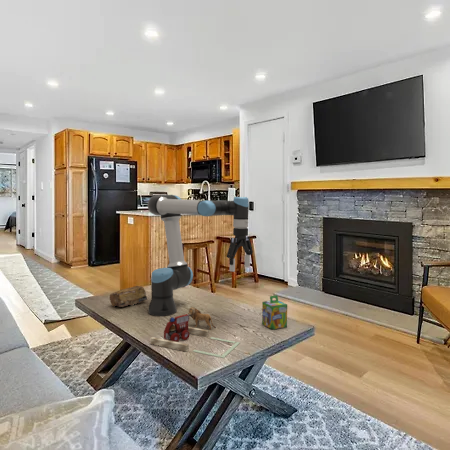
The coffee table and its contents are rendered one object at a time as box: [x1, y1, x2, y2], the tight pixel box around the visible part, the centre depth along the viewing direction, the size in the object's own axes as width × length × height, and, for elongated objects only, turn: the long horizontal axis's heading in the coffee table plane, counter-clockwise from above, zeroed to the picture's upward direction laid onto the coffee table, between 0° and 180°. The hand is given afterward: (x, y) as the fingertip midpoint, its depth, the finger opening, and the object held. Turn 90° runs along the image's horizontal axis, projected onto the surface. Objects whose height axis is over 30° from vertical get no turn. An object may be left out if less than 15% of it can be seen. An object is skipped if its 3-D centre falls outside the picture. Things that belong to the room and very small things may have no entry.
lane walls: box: [150, 326, 210, 352], centre depth 158 cm, size 18×19×2 cm
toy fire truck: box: [163, 313, 191, 342], centre depth 159 cm, size 7×12×10 cm, turn 128°
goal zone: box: [192, 336, 241, 359], centre depth 151 cm, size 14×16×1 cm
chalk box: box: [261, 294, 288, 330], centre depth 176 cm, size 9×9×15 cm
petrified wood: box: [109, 285, 148, 308], centre depth 211 cm, size 19×13×10 cm
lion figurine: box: [187, 307, 217, 331], centre depth 174 cm, size 15×5×9 cm, turn 69°
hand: (239, 269), depth 183 cm, fingers open, 13 cm apart
